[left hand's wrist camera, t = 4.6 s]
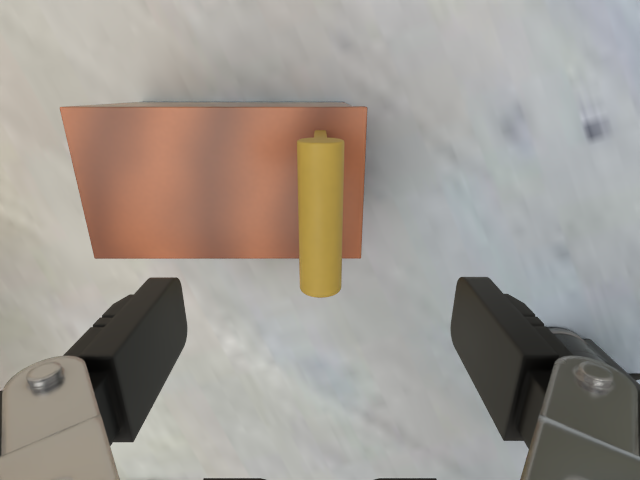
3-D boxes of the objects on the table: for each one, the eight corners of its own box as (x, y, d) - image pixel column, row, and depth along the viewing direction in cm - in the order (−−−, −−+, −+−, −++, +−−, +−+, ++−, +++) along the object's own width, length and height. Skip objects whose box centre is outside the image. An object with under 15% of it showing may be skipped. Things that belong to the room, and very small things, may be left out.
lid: (365, 106, 24) (388, 114, 16) (359, 251, 27) (376, 318, 19) (72, 106, 24) (-55, 114, 16) (104, 251, 27) (14, 318, 19)
